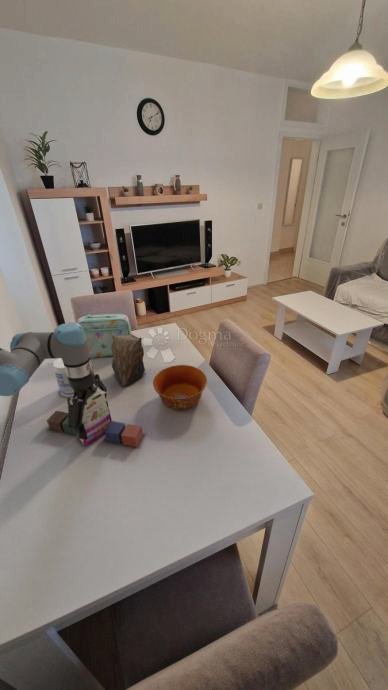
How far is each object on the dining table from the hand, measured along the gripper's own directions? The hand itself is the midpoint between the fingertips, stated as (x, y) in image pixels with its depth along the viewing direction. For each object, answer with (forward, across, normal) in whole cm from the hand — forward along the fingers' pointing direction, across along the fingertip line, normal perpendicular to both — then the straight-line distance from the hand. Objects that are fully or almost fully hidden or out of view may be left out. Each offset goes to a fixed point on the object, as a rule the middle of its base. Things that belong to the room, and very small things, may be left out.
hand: (93, 424), depth 94 cm
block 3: (+5, 0, -8) cm, 9 cm away
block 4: (+5, 0, -14) cm, 15 cm away
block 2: (+5, 0, +8) cm, 9 cm away
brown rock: (+5, +32, +3) cm, 32 cm away
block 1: (+5, 0, +14) cm, 15 cm away
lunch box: (+5, +50, +23) cm, 55 cm away
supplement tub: (+5, +19, +22) cm, 29 cm away
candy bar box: (+4, 0, 0) cm, 4 cm away
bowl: (+5, +24, -24) cm, 34 cm away
